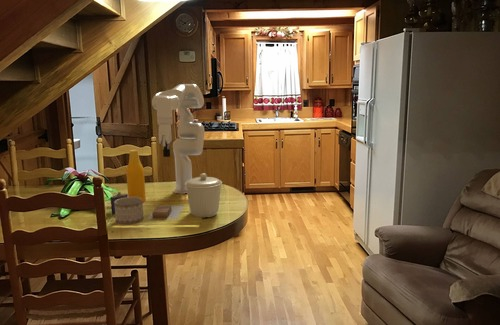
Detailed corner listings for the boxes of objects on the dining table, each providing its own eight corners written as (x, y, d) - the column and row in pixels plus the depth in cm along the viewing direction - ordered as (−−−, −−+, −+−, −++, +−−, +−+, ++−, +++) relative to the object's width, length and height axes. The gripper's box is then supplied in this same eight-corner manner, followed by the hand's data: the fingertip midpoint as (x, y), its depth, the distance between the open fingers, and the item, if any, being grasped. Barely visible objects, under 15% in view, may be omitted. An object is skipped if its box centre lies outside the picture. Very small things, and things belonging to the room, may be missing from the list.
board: (157, 207, 211) (157, 205, 211) (183, 207, 211) (183, 205, 211) (147, 220, 192) (147, 218, 191) (176, 220, 191) (176, 218, 191)
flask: (127, 209, 209) (125, 189, 207) (130, 210, 207) (128, 190, 205) (110, 214, 202) (109, 193, 200) (113, 215, 200) (112, 194, 198)
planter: (144, 224, 186) (142, 203, 184) (115, 227, 183) (113, 205, 181) (143, 216, 198) (141, 195, 196) (116, 218, 195) (114, 198, 193)
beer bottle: (128, 201, 223) (124, 149, 217) (145, 199, 226) (142, 148, 220) (128, 206, 214) (124, 152, 209) (146, 204, 217) (143, 151, 211)
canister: (179, 218, 194) (177, 175, 190) (197, 207, 211) (195, 168, 207) (212, 222, 188) (211, 179, 184) (228, 211, 204) (227, 170, 200)
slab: (157, 205, 201) (152, 212, 191) (171, 205, 201) (167, 212, 191) (157, 211, 201) (152, 218, 192) (171, 211, 201) (167, 218, 192)
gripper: (160, 119, 211) (162, 154, 215) (154, 122, 197) (156, 159, 200) (175, 119, 211) (176, 153, 215) (169, 122, 197) (171, 159, 200)
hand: (166, 156), depth 208 cm, fingers closed
